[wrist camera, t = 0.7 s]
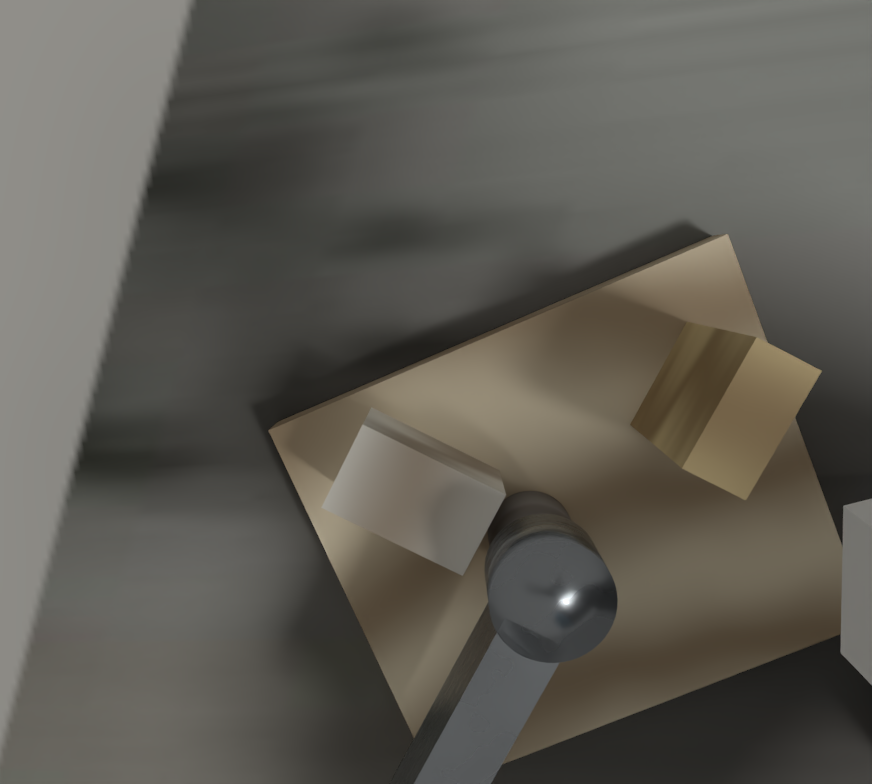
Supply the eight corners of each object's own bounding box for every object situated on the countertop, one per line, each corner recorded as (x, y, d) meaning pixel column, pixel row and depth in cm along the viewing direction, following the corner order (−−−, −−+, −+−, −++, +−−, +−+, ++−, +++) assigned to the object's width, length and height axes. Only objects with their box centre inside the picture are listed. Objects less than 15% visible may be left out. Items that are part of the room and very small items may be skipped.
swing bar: (517, 494, 24) (526, 519, 22) (620, 544, 24) (640, 576, 22) (364, 779, 26) (356, 833, 23) (462, 824, 26) (464, 883, 23)
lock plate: (849, 604, 30) (983, 716, 22) (438, 764, 31) (436, 920, 24) (712, 235, 28) (810, 224, 20) (277, 422, 29) (219, 475, 21)
